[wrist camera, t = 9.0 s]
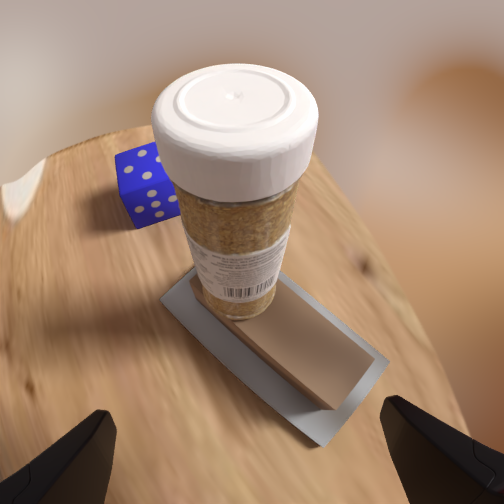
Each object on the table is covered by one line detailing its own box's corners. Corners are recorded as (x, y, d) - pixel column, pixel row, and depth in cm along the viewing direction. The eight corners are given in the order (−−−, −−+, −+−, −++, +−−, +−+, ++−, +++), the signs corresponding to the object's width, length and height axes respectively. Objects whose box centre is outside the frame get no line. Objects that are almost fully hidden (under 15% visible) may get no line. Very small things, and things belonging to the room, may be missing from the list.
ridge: (320, 446, 18) (338, 454, 14) (161, 302, 23) (146, 281, 19) (385, 363, 21) (412, 352, 17) (233, 237, 26) (232, 206, 22)
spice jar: (274, 255, 20) (309, 62, 8) (276, 323, 18) (336, 155, 6) (204, 254, 20) (167, 61, 8) (199, 322, 18) (127, 154, 6)
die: (189, 212, 27) (181, 175, 23) (136, 230, 26) (119, 195, 22) (177, 174, 29) (168, 136, 25) (129, 189, 28) (114, 154, 24)
